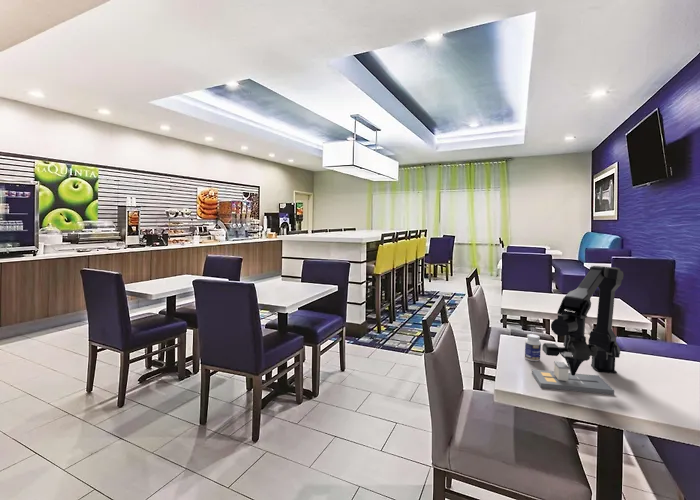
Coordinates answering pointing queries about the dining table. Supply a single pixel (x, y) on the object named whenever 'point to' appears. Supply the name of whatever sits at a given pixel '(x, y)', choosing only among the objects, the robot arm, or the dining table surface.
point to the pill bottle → (532, 347)
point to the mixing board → (573, 382)
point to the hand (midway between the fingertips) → (572, 375)
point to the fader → (561, 371)
